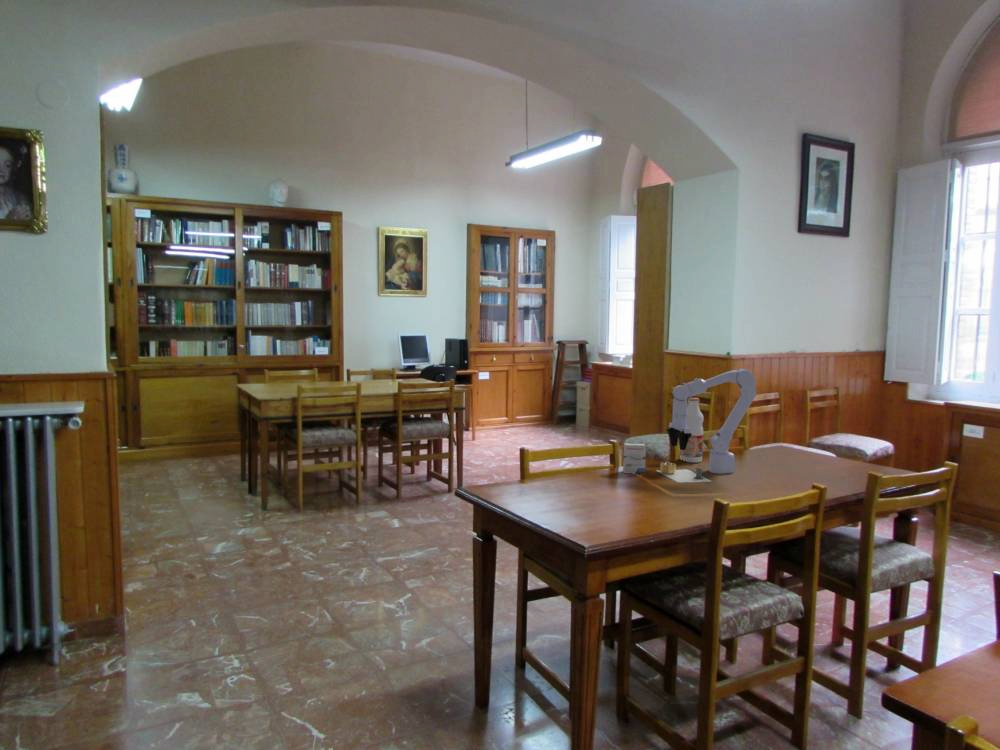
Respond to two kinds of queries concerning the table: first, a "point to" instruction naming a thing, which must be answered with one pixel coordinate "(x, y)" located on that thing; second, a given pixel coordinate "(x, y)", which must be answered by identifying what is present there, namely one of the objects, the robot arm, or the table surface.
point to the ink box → (634, 458)
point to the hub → (668, 464)
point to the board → (687, 476)
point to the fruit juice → (694, 433)
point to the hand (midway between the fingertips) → (678, 447)
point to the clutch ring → (668, 468)
